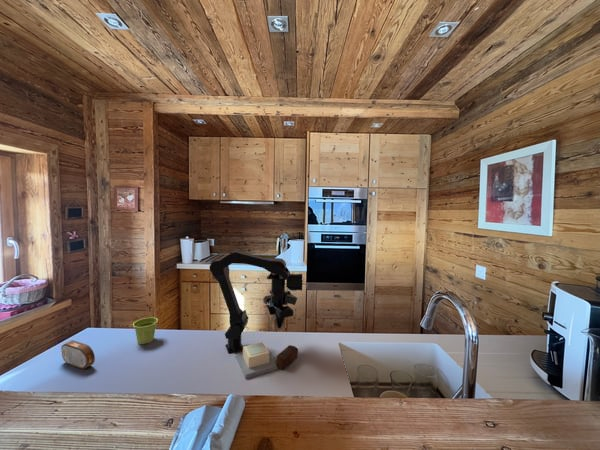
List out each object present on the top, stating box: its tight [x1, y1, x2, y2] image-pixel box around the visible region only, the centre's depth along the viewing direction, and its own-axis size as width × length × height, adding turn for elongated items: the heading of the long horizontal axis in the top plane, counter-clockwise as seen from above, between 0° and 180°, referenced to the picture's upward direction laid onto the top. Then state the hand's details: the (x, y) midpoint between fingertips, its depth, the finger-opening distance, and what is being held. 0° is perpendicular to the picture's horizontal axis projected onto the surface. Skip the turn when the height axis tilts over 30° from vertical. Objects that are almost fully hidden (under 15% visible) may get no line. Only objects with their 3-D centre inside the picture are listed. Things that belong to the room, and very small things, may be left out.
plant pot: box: [132, 317, 159, 345], centre depth 110 cm, size 9×9×9 cm
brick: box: [275, 345, 299, 371], centre depth 98 cm, size 11×4×5 cm, turn 151°
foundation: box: [235, 342, 278, 380], centre depth 96 cm, size 14×12×6 cm
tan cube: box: [268, 314, 286, 332], centre depth 105 cm, size 5×5×5 cm
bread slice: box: [61, 339, 96, 370], centre depth 92 cm, size 15×3×8 cm, turn 71°
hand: (276, 325), depth 105 cm, fingers closed on tan cube, 5 cm apart
